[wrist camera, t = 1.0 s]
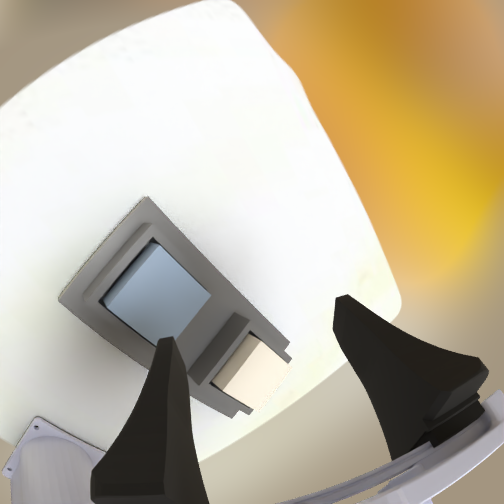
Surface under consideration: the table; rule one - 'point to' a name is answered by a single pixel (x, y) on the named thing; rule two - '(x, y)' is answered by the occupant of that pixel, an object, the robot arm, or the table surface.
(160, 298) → the blue key
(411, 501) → the robot arm
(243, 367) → the white key
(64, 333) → the table surface
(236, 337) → the key board
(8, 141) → the table surface
